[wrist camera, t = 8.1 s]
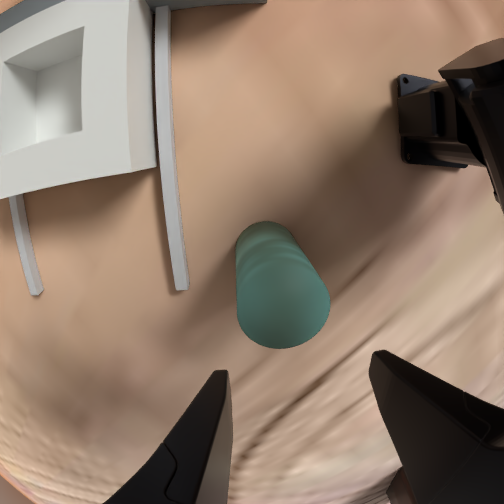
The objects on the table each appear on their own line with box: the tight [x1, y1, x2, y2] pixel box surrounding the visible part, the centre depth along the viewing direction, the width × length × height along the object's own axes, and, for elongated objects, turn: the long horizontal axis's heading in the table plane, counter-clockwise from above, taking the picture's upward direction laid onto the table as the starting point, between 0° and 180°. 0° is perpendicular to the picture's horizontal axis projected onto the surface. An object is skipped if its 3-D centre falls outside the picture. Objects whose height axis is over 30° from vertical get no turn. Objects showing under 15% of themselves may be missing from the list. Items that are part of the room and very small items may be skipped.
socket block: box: [0, 0, 157, 199], centre depth 13 cm, size 11×11×5 cm
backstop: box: [0, 0, 267, 295], centre depth 15 cm, size 26×21×5 cm
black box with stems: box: [386, 466, 417, 504], centre depth 25 cm, size 16×11×18 cm
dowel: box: [235, 221, 330, 349], centre depth 16 cm, size 4×4×8 cm
